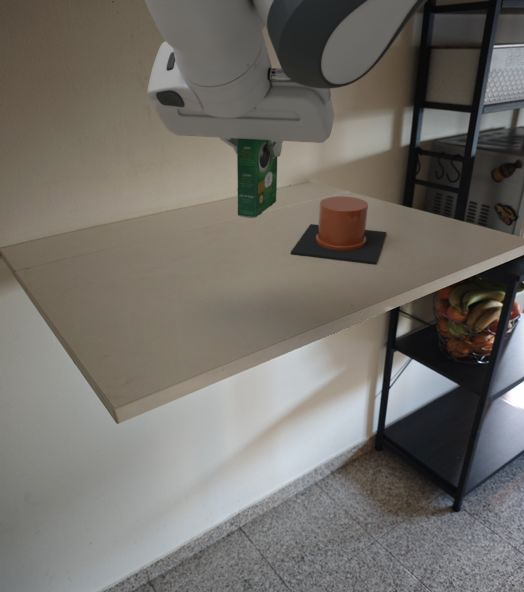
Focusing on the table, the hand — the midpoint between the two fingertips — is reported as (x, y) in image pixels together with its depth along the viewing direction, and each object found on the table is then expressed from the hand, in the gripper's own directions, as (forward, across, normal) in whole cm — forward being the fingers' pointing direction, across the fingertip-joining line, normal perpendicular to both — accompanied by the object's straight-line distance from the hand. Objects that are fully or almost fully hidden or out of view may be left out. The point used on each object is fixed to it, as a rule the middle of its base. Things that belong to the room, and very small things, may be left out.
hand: (259, 150), depth 64 cm
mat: (+37, -7, -5) cm, 38 cm away
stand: (+37, -7, -5) cm, 38 cm away
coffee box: (+5, 0, +6) cm, 8 cm away
